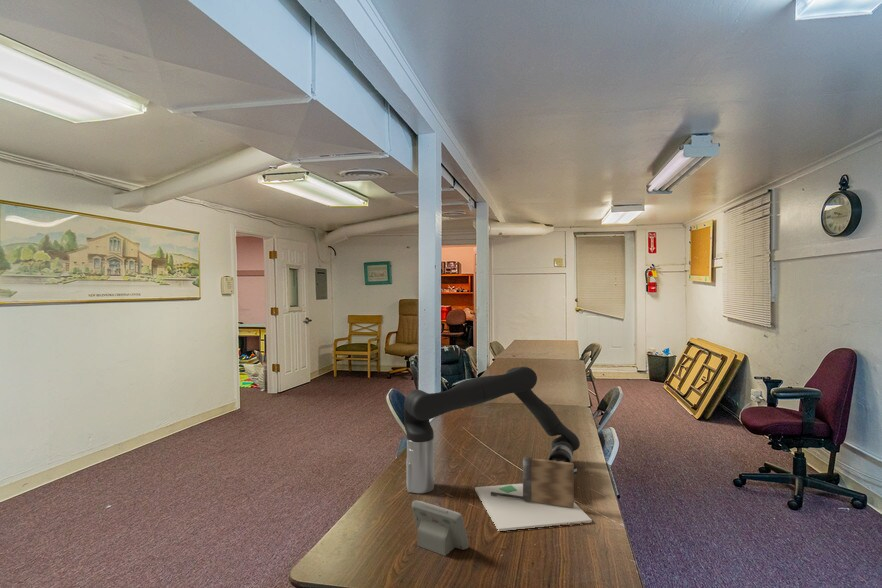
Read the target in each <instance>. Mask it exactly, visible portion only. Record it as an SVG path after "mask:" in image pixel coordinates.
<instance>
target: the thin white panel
mask: <svg viewBox="0 0 882 588" xmlns="http://www.w3.org/2000/svg"><path fill="white" fill-rule="evenodd" d="M474 491H475V493H476V494H477V496H478V498H479V500H480V502H481V501H482V502H481V503H482V505H483V507H484V509H485V511H486V510H487V511H486V512H487V514H488V516H489V517H491V518H490V519H491V521H492V523H493V522H494V523H493V525H494V524H495V525H494V526H496V527H495V528H496V530H497V529H498V530H497V532H498V531H506V530H516V529H525V528H535V527H544V526H552V525H560V524H567V523H568V524H570V523H581V522H592V523H593V521H592V518H590V516H589V515H588V514H587V513H585V511H584V510H583V509H582V508H581V507H579V505H577V504H576V502H574V507H568V506H561V505H554V504H548V503H541V502H534V501H524V500H523V499H518V498H512V497H505V496H499V495H492V494H491V492H496V493H503V494H510V495H516V496H523V483H513V484H511V483H509V484H500V485H499V484H498V485H486V486H476V487H474Z"/></svg>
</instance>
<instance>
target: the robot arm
mask: <svg viewBox="0 0 882 588" xmlns="http://www.w3.org/2000/svg"><path fill="white" fill-rule="evenodd" d="M537 382H538V376H537V373H536V372H535V371H534V369H532V368H530V367H527V366H518V367H512V368H510V369H508V370H507V371H506V373H504V374H495V375H487V376H478V377H473V378H471V379H466V380H464V381H461V382H458V383H457V384H456V385H455V386H453V387H451V388H450V389H448V390H445V391H439V392H433V393H428V392H426V391H424V390H421V389H413V390H411V391H409V393H407V395H405V398H404V401H403V402H404V403H403V420H404V421H403V422H404V428H405V434H406V459H405V462H406V464H405V468H406V469H405V470H406V471H405V472H406V473H405V474H406V477H405V478H406V479H405V480H406V485H405V486H406V489H407V492H408V493H414V494H427V493H429V492H431V491H434V488H435V461H434V460H435V458H434V457H435V456H434V455H435V454H434V453H435V452H434V451H435V449H434V448H435V447H434V445H435V443H434V441H435V439H434V438H435V437H434V428H433V427H432V425H431V422H430V420H432V419H434V418H436V417H439V416H441V415H444V414H446V413H447V414H448V413H449V412H452V411H456V410H461V409H465V408H468V407H473V406H474V407H475V406H478V405H481V404H484V403H487V402H489V401H493V400H496V399H498V398H501V397H504V396H506V395H510V394H514V395H515V396H516V397H517V398H518V399H519V400H520V401H521V403H523V404H524V406H526V408H527V409H528V410H529V411H530V412H531V414H532V415H533V416H534V418H535V419H536V420H537V422H538V423H539V424H540V426H541V427H542V429H543V430H544V432H545V433H546V435H548V436H550V437H555V438H553V440H552V441H551V448H552V450H551V453H550V454H549V455H550V456H549V457H548V460H552V461H560V462H569V463H573V454H574V451H577V450H578V449H580V445H581V443H580V439H579V437H578V436H577V435H576V434H575V433H574V432H573V431H572V430H570V429H569V428H567V427H566V426H565V424H563V422H562V421H561V420H560V419H559V417H558V416H557V414H556V413H555V412H554V410H553V409H552V408H551V407H550V406H549V405H548V404H547V403H546V402H544V401H543V400H542V399H541V398H540V397H539V396H537V395H536V394H535V392H534V391H533V389H534V387H535V386H536V385H537ZM556 436H558V437H556ZM577 474H578V466H577V465H576V464H574V475H577Z"/></svg>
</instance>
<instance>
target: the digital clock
mask: <svg viewBox="0 0 882 588" xmlns="http://www.w3.org/2000/svg"><path fill="white" fill-rule="evenodd" d="M411 509H412V510H411V511H412V513H413V517H414V520H415V524H416V528H417V534H416V535H417V538H416V539H417V547H420V548H423V549H425V550H427V551H430V552H434V553H436V554H439V555H441V556H443V557H446V556H447V555H448V554H450V551H451V552H452V551H453V550H454V549H455V548H456V549H458V550H461V551H462V550H463V551H464V550H467V549H468V548H469V545H470V544H469V538H468V535H467V530H466V526H465V521H464V518H463V515H462V513H460V512H458V511H454V510H451V509H450V508H449V509H448V508H445V507H441V506H439V505H435V504H432V503H428V502H427V501H426V502H425V501H421V500H413V501H412V502H411Z"/></svg>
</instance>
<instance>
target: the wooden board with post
mask: <svg viewBox="0 0 882 588" xmlns="http://www.w3.org/2000/svg"><path fill="white" fill-rule="evenodd" d="M574 465H575V464H574V462H572V463H569V462H560V461H552V460H549V459H545V458H544V459H543V458H534V457H530V456H523V457H522V484H523V496H516V495H510V494H503V493H496V492H491V494H492V495H499V496H505V497H512V498H518V499H523V500H524V501H534V502H541V503H548V504H554V505H561V506H568V507H574V503H575V501H574V500H575V499H574V497H575V495H574V493H575V492H574V491H575V490H574V489H575V487H574V483H575V481H574V479H575V478H574V476H575V474H574Z"/></svg>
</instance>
